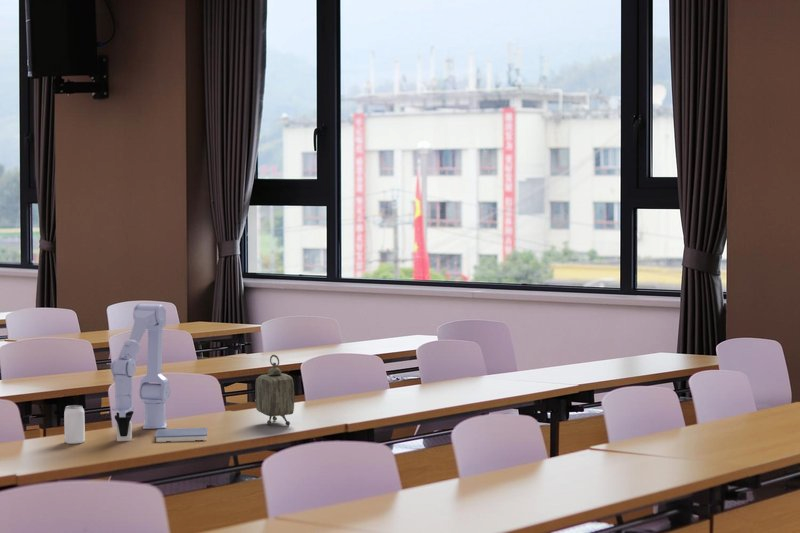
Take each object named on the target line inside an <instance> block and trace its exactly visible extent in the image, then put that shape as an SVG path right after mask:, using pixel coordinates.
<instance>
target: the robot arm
mask: <svg viewBox="0 0 800 533" xmlns="http://www.w3.org/2000/svg"><path fill="white" fill-rule="evenodd" d="M132 317H133V318H132V319H133V321H134V322H133V326H132V329H131V331H130V335H129V339H127V340H125V341H124V343H123V345H122V347H121V349H120V352H119V355H118V358H117V359H115V360H113V362H112V364H111V368H110V370H111V375H112V380H113V382H114V400H115V401H114V403H115V404H114V407H111V411H115V412H116V413H115V414H116V415H114V420H115V421H116V425H117V424H118V427H119V432H120V436H127V434H128V428H129V423H130V420H132V417H133V414H134V411H133V410H134V406H133V405H134V404H133V376H134V374H135V373H136V366H137V357H138V356H139V354H140V351H141V345H140V342H141V340H142V338H143V336H144V334H145V332H146V331H147V351H146V352H147V358H146V359H147V360H146V361H147V362H146V374H145V376H143V377H142V378H141V379H140V384H139V388H138V396H139V399H140V400H141V401H142V403H143V404H144V407H143V409H144V410H143V411H144V413H143V415H144V423H143V426H142V429H143V430H146V429H147V430H149V429H153V430H154V429H167V425H168V421H166V402H167V401H168V400H169V398H170V397H171V396H170V395H171V388H170V381H169V379H168V378H167V377H166V376H164V375H163V373H162V370H163V369H162V367H163V365H162V364H163V363H162V362H163V335H164V334H163V333H164V332H163V331H164V330H163V329H164V328H165V327H166V323H167V322H166V321H167V310H166V309H165V306H164V305H163V304H161V303H160V304H147V303H146V304H145V303H142V304H141V303H136V305H135V306H134V307H133V312H132Z"/></svg>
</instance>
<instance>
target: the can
mask: <svg viewBox="0 0 800 533" xmlns="http://www.w3.org/2000/svg"><path fill="white" fill-rule="evenodd" d="M63 416H64V417H63V418H64V419H63V421H64V422H63V424H64V427H63V428H64V443H65V444H67V445H79V444H84V443H85V441H86V438H85V437H86V432H85V431H86V429H85V428H86V427H85V426H86V425H85V424H86V423H85V422H86V421H85V409H84V408H83V405H80V404H79V405H78V404H73V405H67V406H65V409H64V414H63Z"/></svg>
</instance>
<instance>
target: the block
mask: <svg viewBox="0 0 800 533" xmlns="http://www.w3.org/2000/svg"><path fill="white" fill-rule="evenodd" d="M132 426H133V424H132V419H131V420H130V423H129V428H128V434H127V436H120V432H119V427H118V424H117V423H116V441H117V442H124V441H125V442H128V441H129V442H131V441H132V439H133V427H132Z"/></svg>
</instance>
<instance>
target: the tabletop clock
mask: <svg viewBox="0 0 800 533" xmlns="http://www.w3.org/2000/svg"><path fill="white" fill-rule="evenodd" d="M273 357H274V358H276V360H277V363H276V362H272V359H273ZM269 362H270V365H271V366H272V367H270V368H269V369H268V371H267V374H261V375H259V376H257V378H255V384H254V386H255V388H254V392H255V393H254V397H255V399H254V400H255V408H256V411H257V412H259V413H261V414H263V415H266V416H267V417H268V418H269V419H268V420H267V422H266V424H267V425H268V426H271V425H272V424H273V423H272V421H274V422H275V421H277V420H278V418H277V417H279V416H280V417H281V418H283V420H284V422H285V423H284V424H285V426H288V427H289V426H290V425H291V423H290V421H288V420H287V418H286V416H288V415H290V416H291V415H293V414H294V411H295V383H294V379H293V377H292V376H291V375H288V374H287V373H282V370H281V369H280V368H279V366H280V359H279V356H277V355H276V354H271V356H270V358H269Z"/></svg>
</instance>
